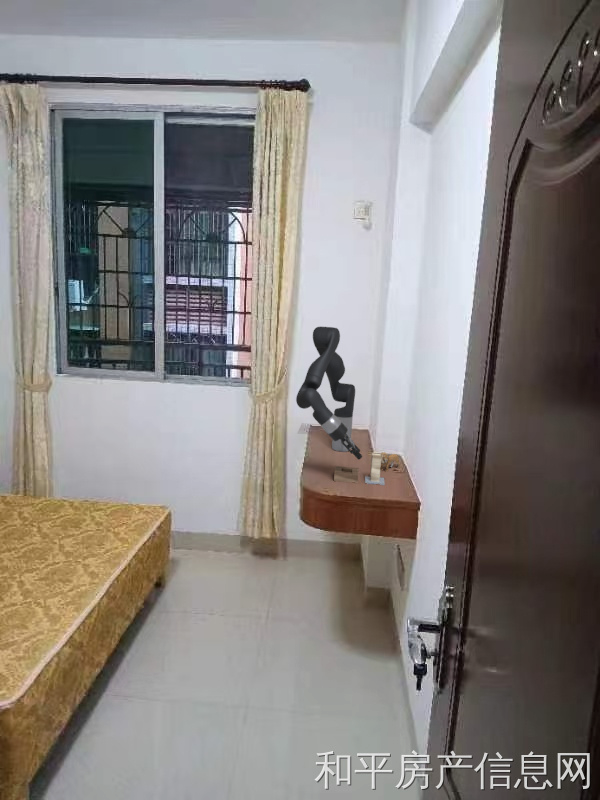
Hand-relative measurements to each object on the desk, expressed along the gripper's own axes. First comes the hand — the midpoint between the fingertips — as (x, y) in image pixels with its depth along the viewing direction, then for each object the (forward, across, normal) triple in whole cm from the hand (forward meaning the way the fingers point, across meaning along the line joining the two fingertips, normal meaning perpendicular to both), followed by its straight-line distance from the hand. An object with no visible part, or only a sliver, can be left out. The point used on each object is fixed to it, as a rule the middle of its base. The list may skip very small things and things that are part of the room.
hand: (359, 455), depth 248 cm
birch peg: (+12, 0, +2) cm, 13 cm away
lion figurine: (+19, +17, -3) cm, 26 cm away
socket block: (+4, +2, +11) cm, 12 cm away
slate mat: (+13, 0, +3) cm, 13 cm away
